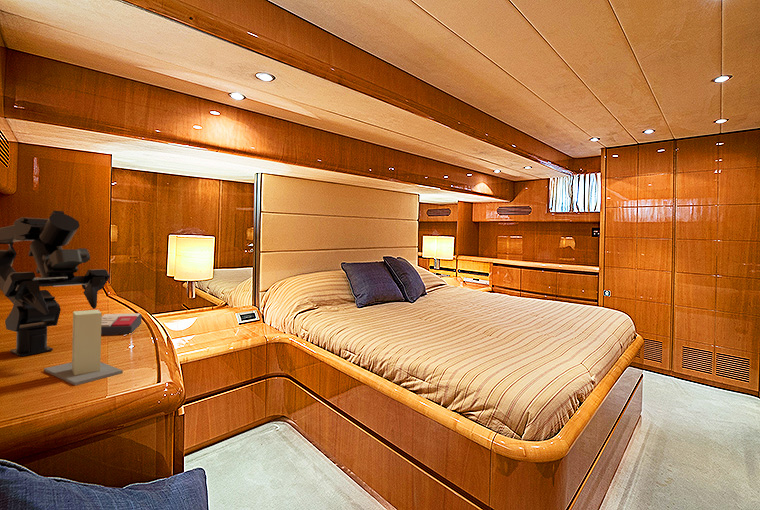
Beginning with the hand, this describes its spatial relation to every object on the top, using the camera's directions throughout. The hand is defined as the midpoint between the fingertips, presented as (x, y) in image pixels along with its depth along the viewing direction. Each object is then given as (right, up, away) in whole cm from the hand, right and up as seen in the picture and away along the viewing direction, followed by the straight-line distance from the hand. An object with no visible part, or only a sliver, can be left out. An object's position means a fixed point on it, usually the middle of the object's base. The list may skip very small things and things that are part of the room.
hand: (72, 310), depth 86 cm
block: (+5, -13, -3) cm, 14 cm away
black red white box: (-14, -12, +34) cm, 38 cm away
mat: (+4, -13, -2) cm, 14 cm away
